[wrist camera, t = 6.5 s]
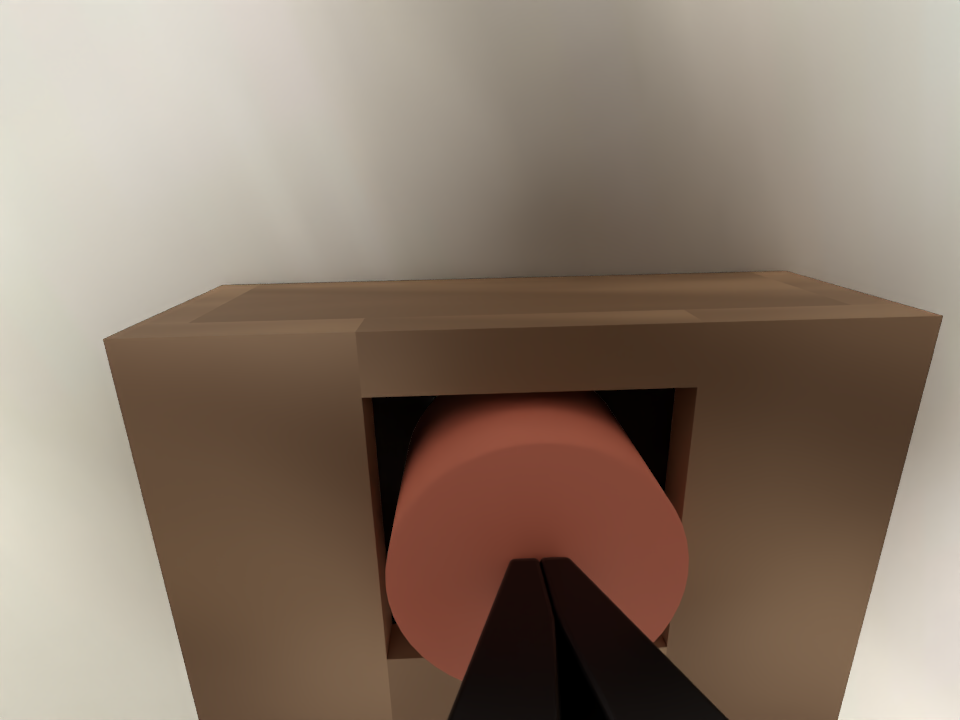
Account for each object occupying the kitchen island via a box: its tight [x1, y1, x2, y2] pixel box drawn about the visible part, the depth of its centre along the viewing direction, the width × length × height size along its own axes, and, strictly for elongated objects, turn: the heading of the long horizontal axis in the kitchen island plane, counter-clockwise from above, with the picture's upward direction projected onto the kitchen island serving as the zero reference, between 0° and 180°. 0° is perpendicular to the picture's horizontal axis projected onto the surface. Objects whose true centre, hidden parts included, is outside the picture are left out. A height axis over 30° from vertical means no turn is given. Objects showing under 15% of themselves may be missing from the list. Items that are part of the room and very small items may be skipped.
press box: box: [103, 271, 943, 720], centre depth 12 cm, size 18×12×4 cm, turn 1°
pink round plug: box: [385, 390, 689, 681], centre depth 9 cm, size 4×4×3 cm
